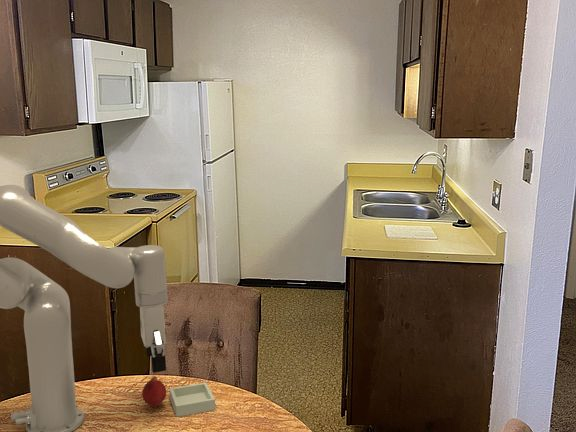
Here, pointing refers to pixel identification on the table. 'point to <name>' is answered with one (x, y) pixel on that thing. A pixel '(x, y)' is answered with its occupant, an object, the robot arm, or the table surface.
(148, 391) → the onion
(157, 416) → the table surface
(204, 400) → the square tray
